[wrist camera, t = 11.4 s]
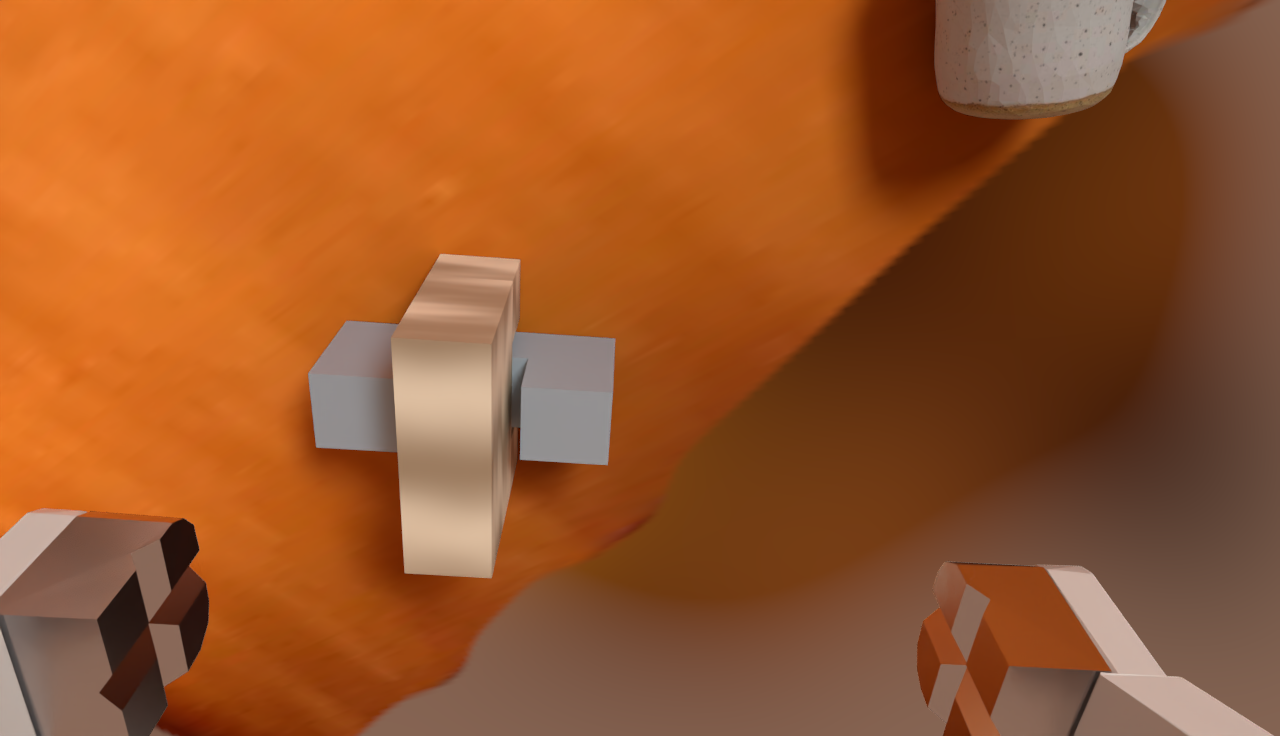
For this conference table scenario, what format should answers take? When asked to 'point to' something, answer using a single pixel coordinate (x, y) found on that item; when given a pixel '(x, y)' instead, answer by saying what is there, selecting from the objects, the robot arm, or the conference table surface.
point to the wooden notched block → (456, 414)
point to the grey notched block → (541, 394)
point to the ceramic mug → (1034, 53)
